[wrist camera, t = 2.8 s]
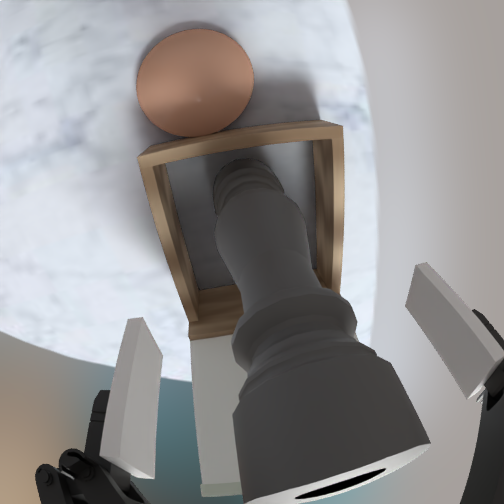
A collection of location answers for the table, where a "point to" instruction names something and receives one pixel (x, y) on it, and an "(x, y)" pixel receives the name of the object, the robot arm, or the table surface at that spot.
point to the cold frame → (154, 158)
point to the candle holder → (301, 359)
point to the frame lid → (217, 413)
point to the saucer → (195, 82)
